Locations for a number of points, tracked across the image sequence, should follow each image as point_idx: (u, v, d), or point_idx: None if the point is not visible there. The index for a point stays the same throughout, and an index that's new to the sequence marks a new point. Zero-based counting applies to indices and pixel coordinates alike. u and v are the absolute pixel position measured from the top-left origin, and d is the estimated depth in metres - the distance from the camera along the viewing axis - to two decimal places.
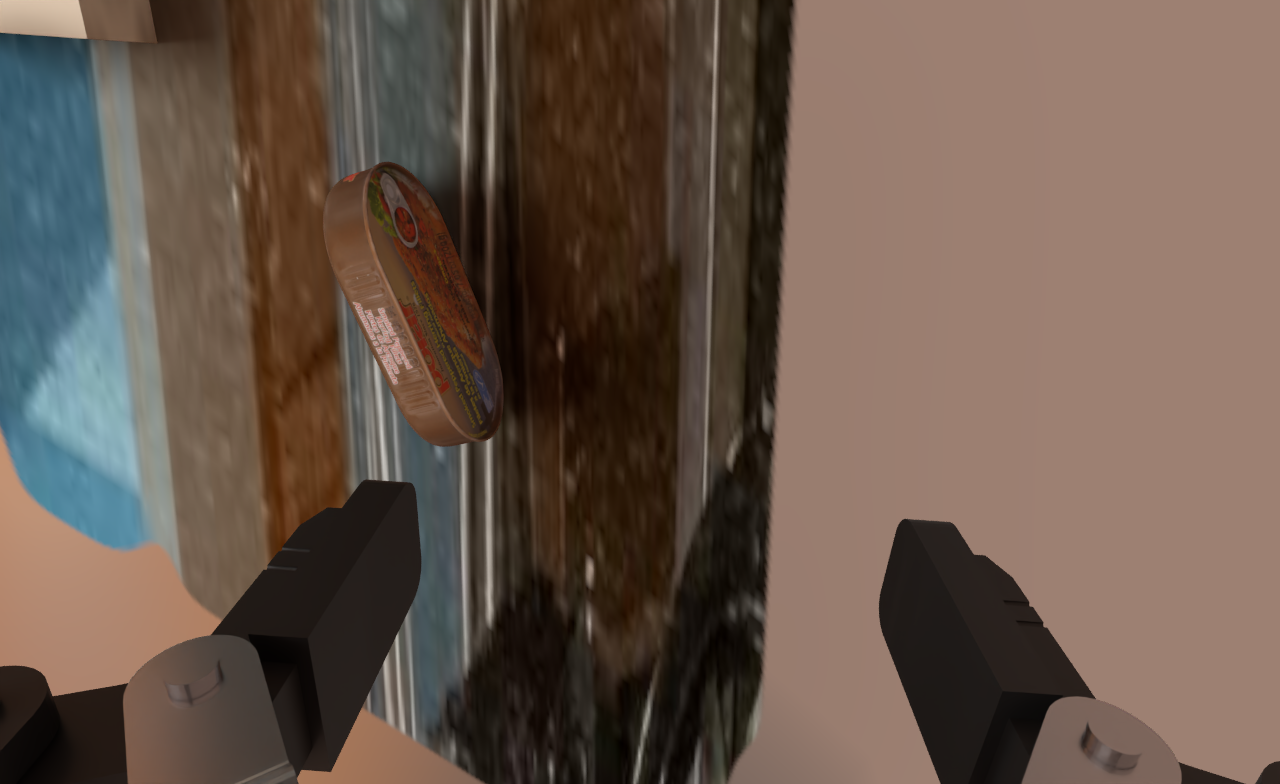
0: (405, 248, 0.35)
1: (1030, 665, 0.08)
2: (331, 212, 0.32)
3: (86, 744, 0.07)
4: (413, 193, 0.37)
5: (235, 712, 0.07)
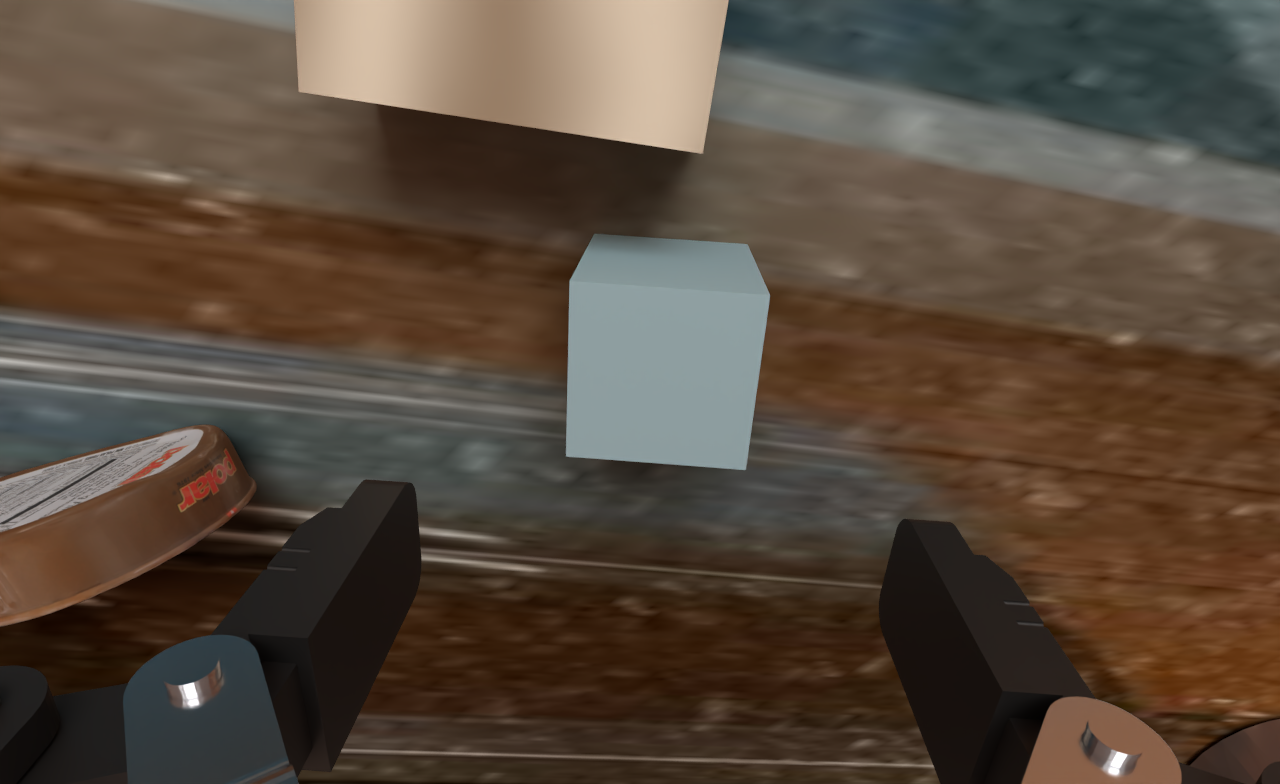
0: None
1: (1030, 665, 0.08)
2: (101, 521, 0.20)
3: (86, 744, 0.07)
4: None
5: (235, 712, 0.07)
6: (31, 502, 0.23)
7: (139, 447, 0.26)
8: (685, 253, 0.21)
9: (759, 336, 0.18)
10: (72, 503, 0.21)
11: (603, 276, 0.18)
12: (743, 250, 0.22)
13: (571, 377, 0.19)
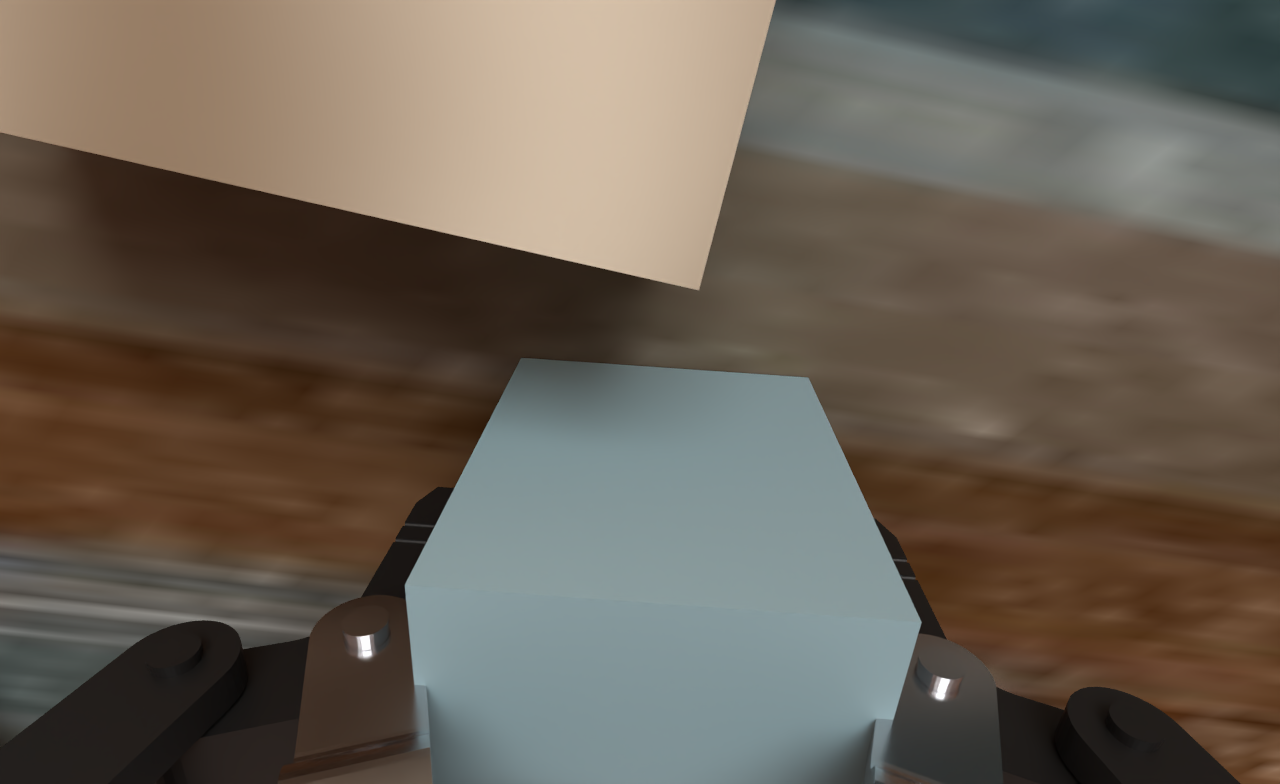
0: None
1: None
2: None
3: (274, 691, 0.08)
4: None
5: None
6: None
7: None
8: (694, 421, 0.10)
9: (885, 703, 0.07)
10: None
11: (500, 549, 0.07)
12: (805, 401, 0.11)
13: None
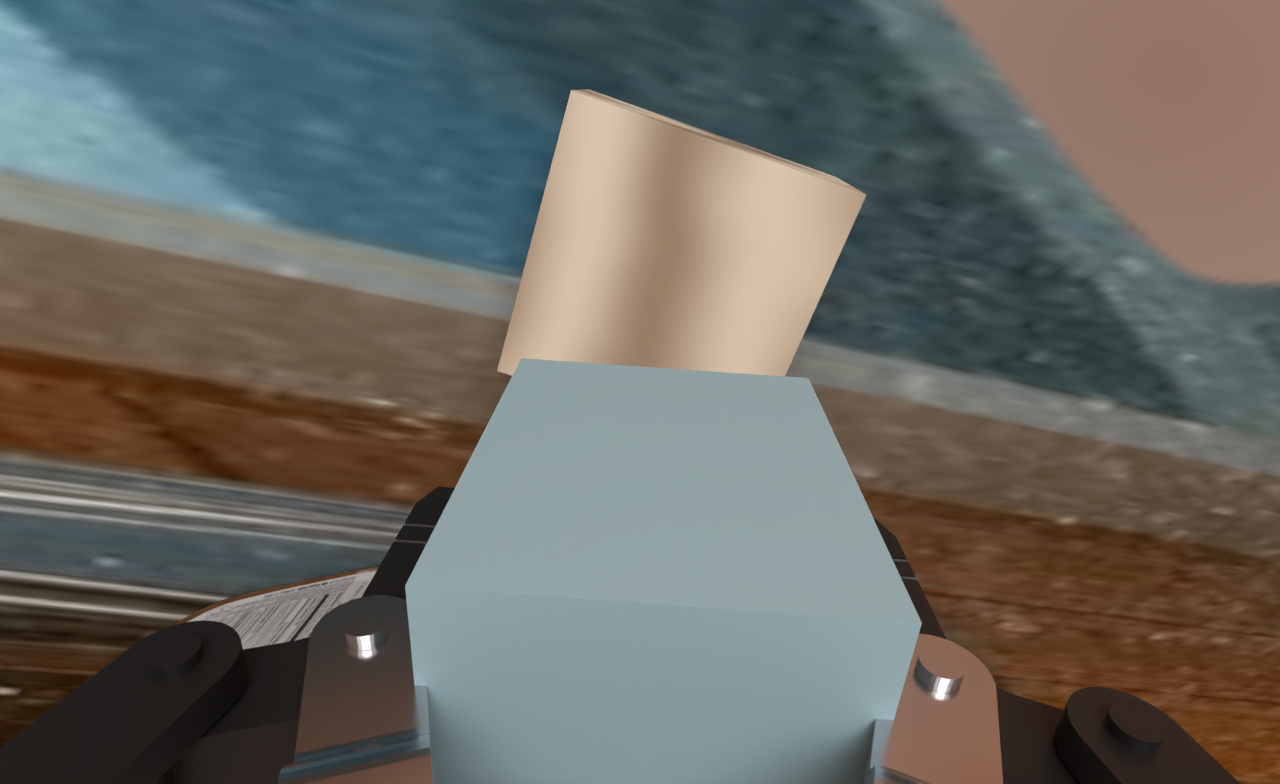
0: None
1: None
2: None
3: (274, 691, 0.08)
4: None
5: None
6: (284, 636, 0.32)
7: (341, 583, 0.35)
8: (694, 422, 0.10)
9: (885, 704, 0.07)
10: None
11: (500, 550, 0.07)
12: (806, 402, 0.11)
13: None
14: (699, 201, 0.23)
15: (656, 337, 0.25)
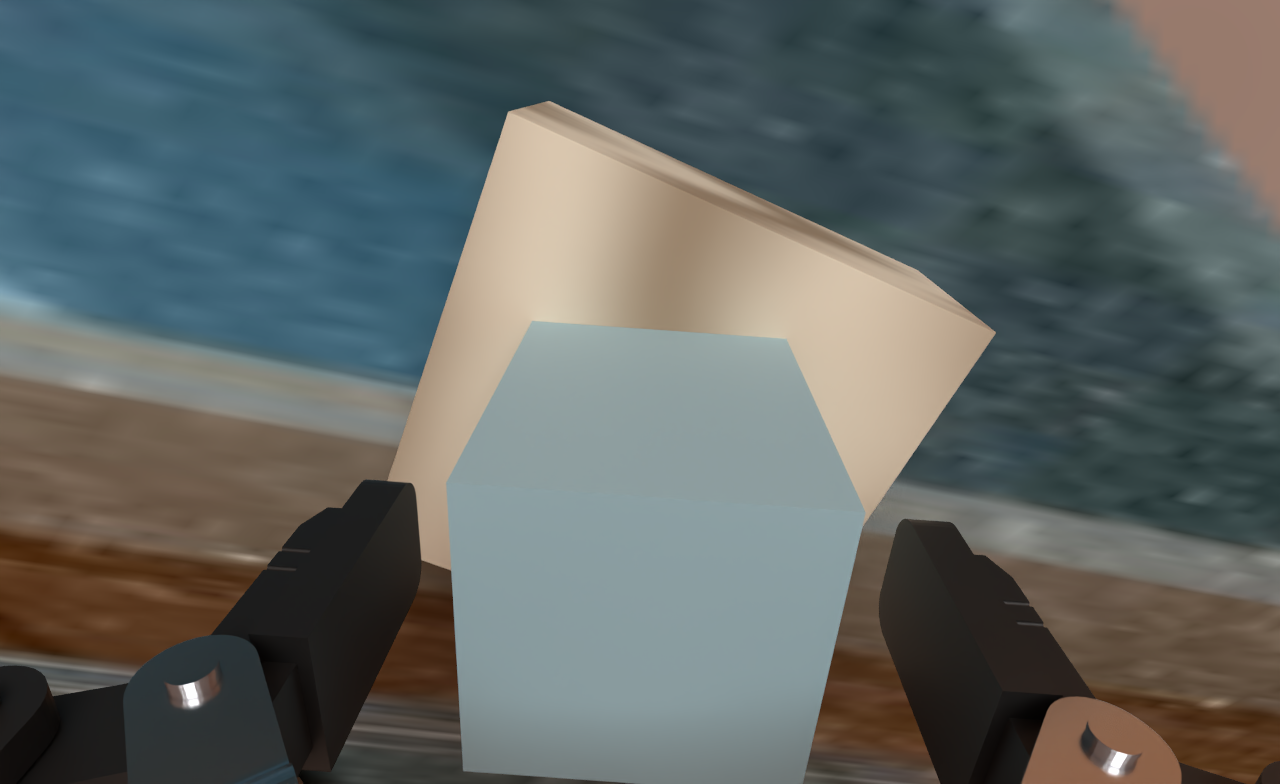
0: None
1: (1030, 665, 0.08)
2: None
3: (86, 744, 0.07)
4: None
5: (235, 712, 0.07)
6: None
7: None
8: (685, 371, 0.12)
9: (838, 584, 0.09)
10: None
11: (522, 459, 0.09)
12: (783, 357, 0.13)
13: (464, 648, 0.10)
14: (716, 318, 0.14)
15: None
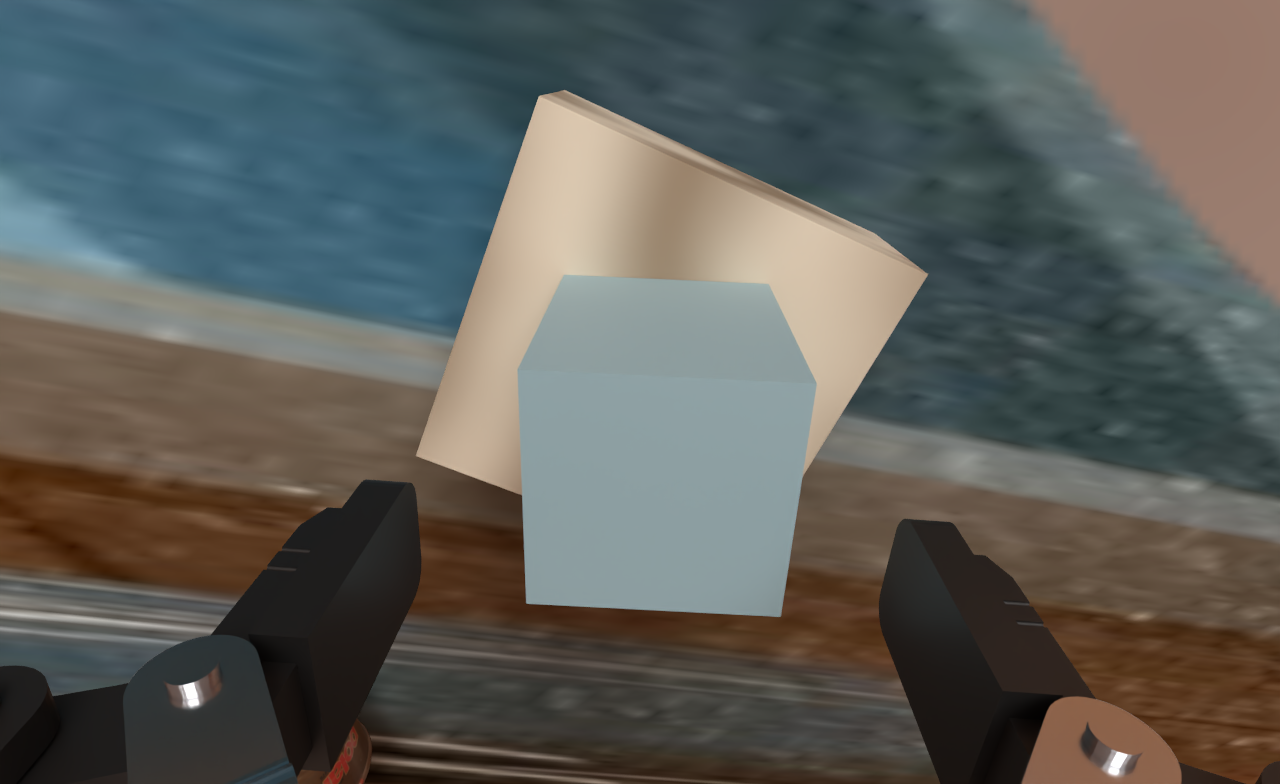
0: None
1: (1030, 665, 0.08)
2: None
3: (86, 744, 0.07)
4: None
5: (235, 712, 0.07)
6: None
7: None
8: (687, 305, 0.15)
9: (800, 441, 0.12)
10: None
11: (569, 357, 0.12)
12: (765, 295, 0.16)
13: (528, 501, 0.13)
14: (704, 263, 0.17)
15: None
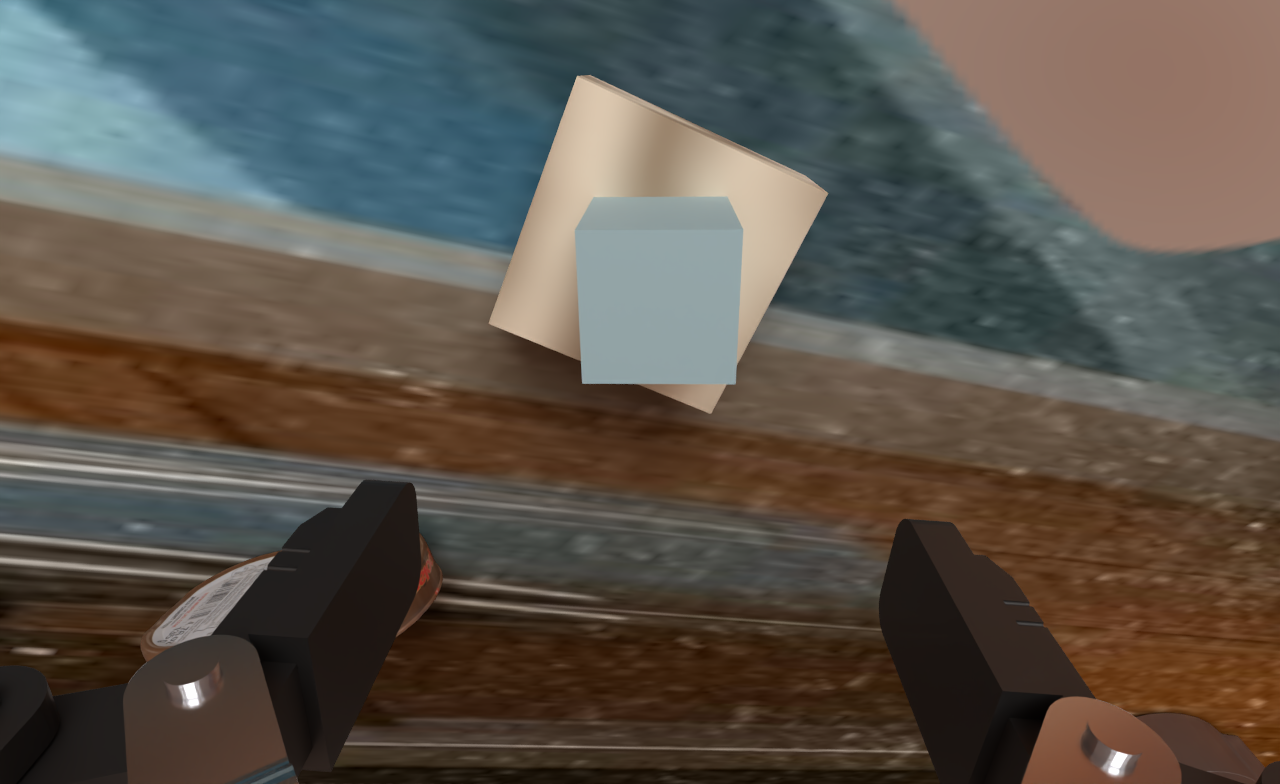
0: None
1: (1030, 665, 0.08)
2: None
3: (86, 744, 0.07)
4: None
5: (235, 712, 0.07)
6: None
7: None
8: (672, 206, 0.25)
9: (737, 265, 0.21)
10: None
11: (603, 225, 0.22)
12: (723, 201, 0.25)
13: (582, 313, 0.22)
14: (682, 186, 0.26)
15: None
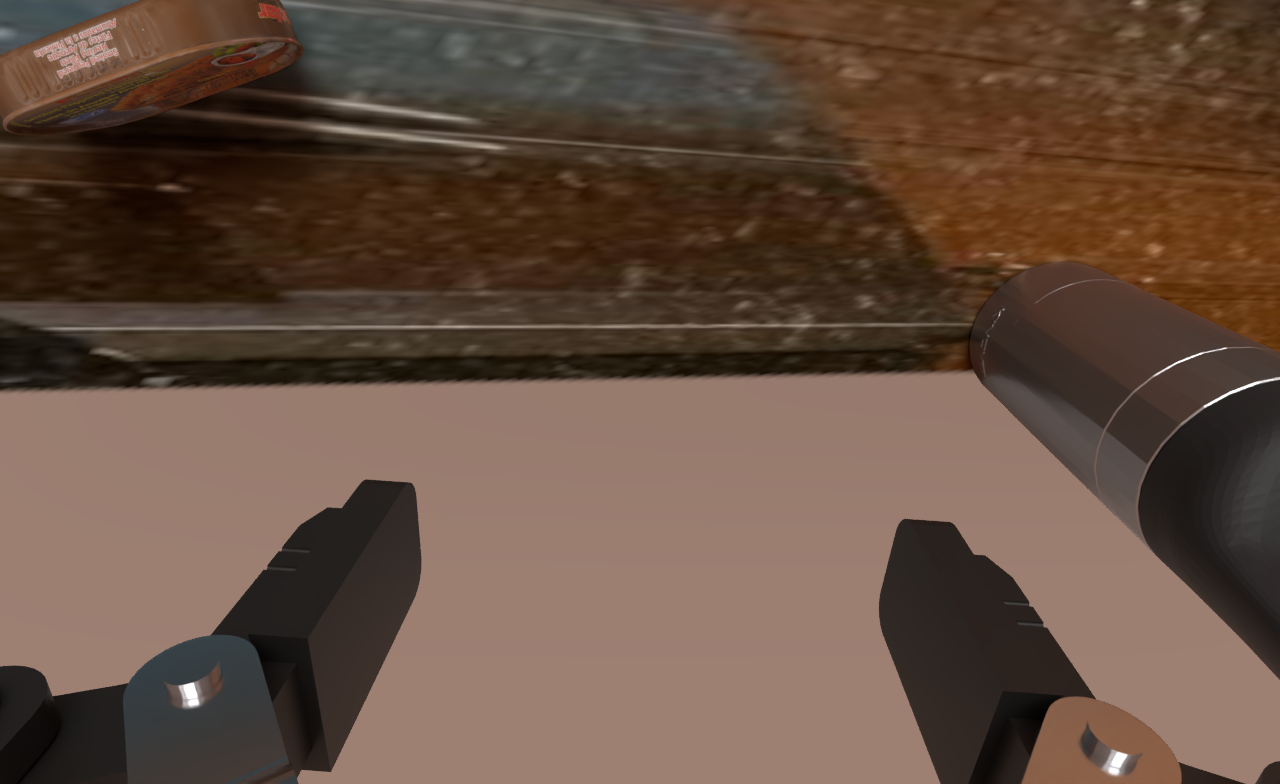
0: (208, 61, 0.34)
1: (1030, 665, 0.08)
2: (213, 0, 0.31)
3: (87, 744, 0.07)
4: (283, 53, 0.37)
5: (236, 712, 0.07)
6: None
7: None
8: None
9: None
10: None
11: None
12: None
13: None
14: None
15: None
